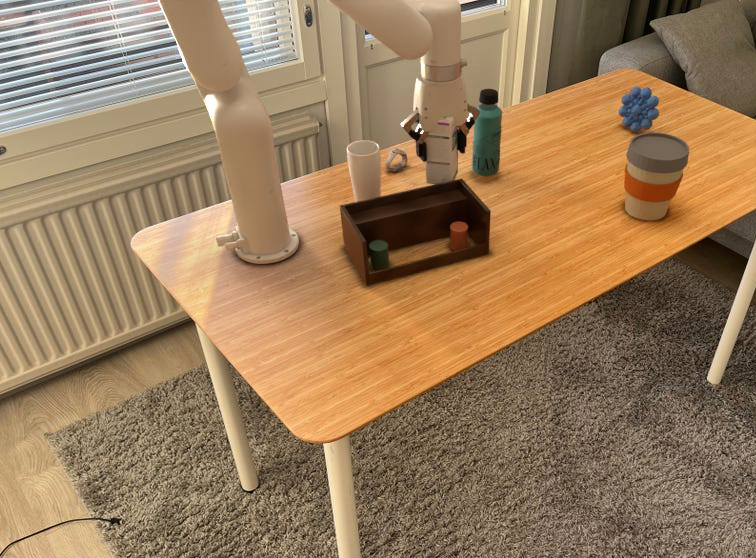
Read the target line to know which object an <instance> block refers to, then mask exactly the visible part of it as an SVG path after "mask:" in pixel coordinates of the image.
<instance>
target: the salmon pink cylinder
mask: <svg viewBox="0 0 756 558" xmlns="http://www.w3.org/2000/svg"><path fill="white" fill-rule="evenodd" d="M467 247H469V234H468V225H467V224H466V223H464V222H454V223H452V224H451V225H450V236H449V248H450V249H451V250H452V251H456V250H460V249H464V248H467Z"/></svg>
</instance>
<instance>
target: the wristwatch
mask: <svg viewBox="0 0 756 558" xmlns="http://www.w3.org/2000/svg"><path fill="white" fill-rule="evenodd" d="M397 155H400V156H401V162H400V163H399V165H394V166H393V167H392V166H391V163H392V162H393V161H394V159H395V157H396V156H397ZM407 164H408V155H407V153H406V151H403V150H401V149H398V148H396V147H394V148H392V149H391V150H390V152H389V154H388V156H387V158H386V159H385V161H384V166H385V169H386V170H388V171H389V172H391V173H397V172H399V171H401V170H403V169H404V168H406V167H407Z"/></svg>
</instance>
